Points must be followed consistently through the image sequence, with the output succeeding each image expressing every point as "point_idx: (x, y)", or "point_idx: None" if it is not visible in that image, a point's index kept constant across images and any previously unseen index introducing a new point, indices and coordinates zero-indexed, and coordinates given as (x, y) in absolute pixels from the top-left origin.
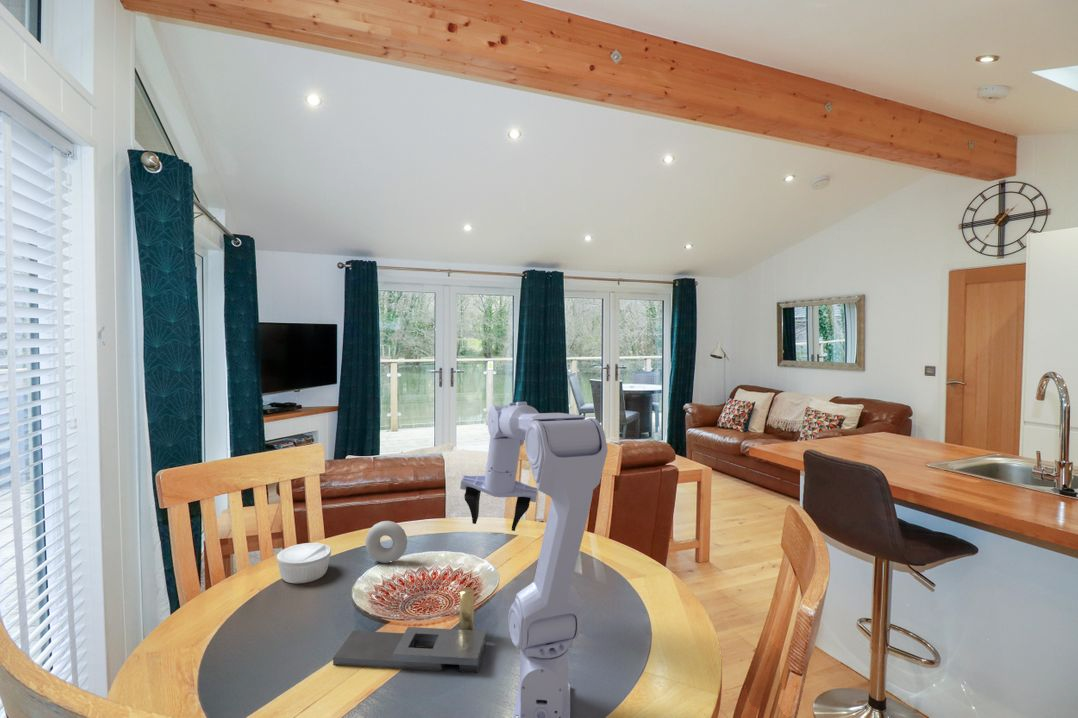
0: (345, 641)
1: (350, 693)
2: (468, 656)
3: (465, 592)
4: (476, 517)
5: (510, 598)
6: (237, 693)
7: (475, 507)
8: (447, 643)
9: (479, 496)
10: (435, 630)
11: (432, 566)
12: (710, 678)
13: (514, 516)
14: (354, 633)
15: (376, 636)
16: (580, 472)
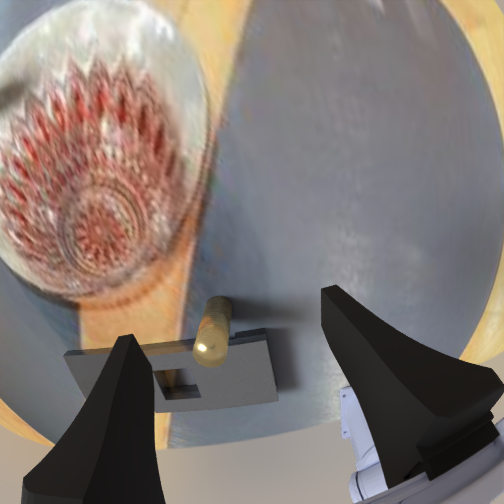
0: (74, 378)
1: None
2: (263, 400)
3: (209, 361)
4: (149, 394)
5: (258, 151)
6: (61, 434)
7: (156, 475)
8: (216, 383)
9: (118, 455)
10: (178, 358)
11: (43, 82)
12: None
13: (363, 412)
14: (69, 361)
15: (98, 364)
16: None
